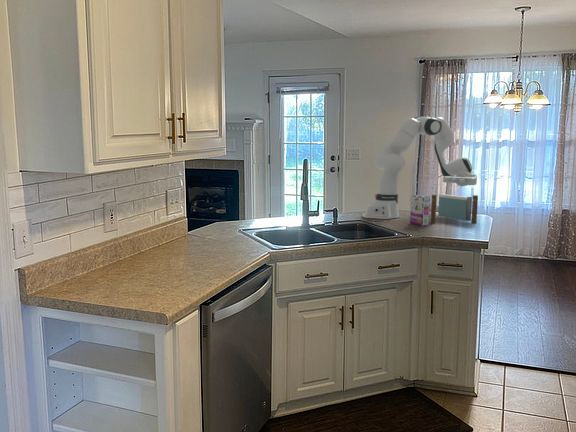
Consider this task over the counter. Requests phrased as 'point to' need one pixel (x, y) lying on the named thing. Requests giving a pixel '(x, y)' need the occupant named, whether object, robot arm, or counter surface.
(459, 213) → the gate
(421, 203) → the candy bar box
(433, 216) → the post
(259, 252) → the counter surface
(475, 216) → the gate post
